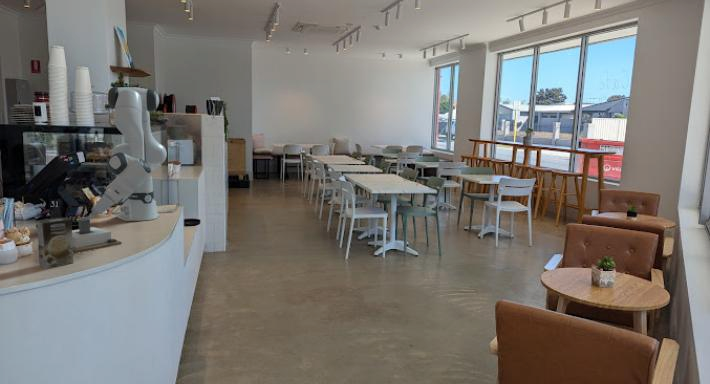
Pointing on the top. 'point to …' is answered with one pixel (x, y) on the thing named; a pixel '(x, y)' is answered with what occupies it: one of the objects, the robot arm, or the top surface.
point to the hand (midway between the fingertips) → (93, 215)
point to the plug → (84, 225)
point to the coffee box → (55, 242)
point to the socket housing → (90, 237)
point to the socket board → (97, 246)
